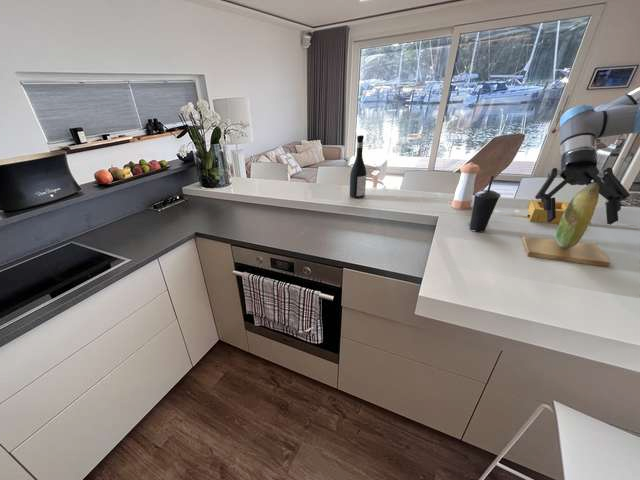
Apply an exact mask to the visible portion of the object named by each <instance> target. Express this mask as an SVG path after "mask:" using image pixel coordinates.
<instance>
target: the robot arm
mask: <svg viewBox="0 0 640 480" xmlns="http://www.w3.org/2000/svg"><path fill="white" fill-rule="evenodd" d="M558 131H559V140H560V141H559V143H560V145H559V146H560V147H559V148H560V150H559V151H560V169H558V168H557V167H553V168H551V170H550V171H548V173H547V178H546V180H545V181H544V182H543V184H542V186H541V188H540V189H539V190H538V192H537V193H536V195H535V196H534V199H535V200H541V202H543V209H544V210H547V222H551V221H552V220H554V219H555V218H556V208H555V201H556V197H553V196H555V195H556V194H557V193H558V192H559V191H560V190H561V189H562V188H564V187H565V186H566V185H567V184H568V185H570V186H587V185H588V184H590V183H598V184H599V196H601V197H603V198H604V199H605V200H607V201H606V202H605V212H606V214H605V215H606V224H607V225H613V224H614V223H617V222H619V212H620V211H621V209H622V205H621V202H622V201H624V200H625V199H627V198H629V197H631V194H630V193H629V192H628V190H627V189H626V187H625V186H624V185H623V184H622V183H621V181H620V180H619V179H618V178H617V176H615V174H614V171H613V168H612V167H607V168H606V169H598V153H597V151H598V148H597V139H600V138H606V137H615V136H623V135H631V134H632V135H633V134H634V135H635V134H637V133H640V86H639V87H637V88H635V89H633V90H631V91H629V92H628V93H626V94H624V95H622V96H620V97H618V98H617V99H615V100H612V101H610V102H609V101H608V102H605V103H603V104H600V105H598V106H597V107H595V108H594V107H593V106H592V105H586V104H580V105H576V106H574V107H571V108H570V109H568V110H566V111H565V112H564V113H562V115H561V116H560V118H559V129H558ZM558 176H560V178H562V179H563V181H561V182H560V183H559V184H558V185H556V186H555V187H554V188H552V190H550V192H548V193H547V191H548V190H549V188H550V186H551V185H552V183H553V182H554V181H555V179H556V178H558Z"/></svg>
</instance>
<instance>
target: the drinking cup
mask: <svg viewBox="0 0 640 480" xmlns="http://www.w3.org/2000/svg"><path fill="white" fill-rule="evenodd" d="M490 176H491V177H490V180H489V183H488V187H487V189H481V190H478V191H475V192H474V193H473V195H474V199H473V205H472V210H471V211H472V212H471V217H470V223H469V230H470V229H471V230H475V231H484V230H485V231H486V228H487V226H488V224H489V221H490V219H491V217H492V215H493V212H494V210H495V208H496V206H497V203H498V201H499V198H501V193H499V192H497V191H495V190H492V189H491V187H492V184H493V180H494V177H495V175H490ZM471 230H470V231H471ZM485 231H484V232H485Z"/></svg>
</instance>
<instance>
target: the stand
mask: <svg viewBox="0 0 640 480" xmlns="http://www.w3.org/2000/svg"><path fill="white" fill-rule="evenodd" d="M541 200H542V199H529V202H528V204H527V207H526V208H527V211H528V213H529V214H527V218H528V220H529V222H532V223H534V222H535V223H543V224H554V225H559V223H560V220H561V218H562V215H563V213H564V212H565V210H566V208H567V207H568V205H569V203H570V202H569V201H558V200H555V208H556V218H555V219H554V220H552V221H551V222H547V210H544V209H543V202H541Z"/></svg>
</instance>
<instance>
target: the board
mask: <svg viewBox="0 0 640 480" xmlns="http://www.w3.org/2000/svg"><path fill="white" fill-rule="evenodd" d="M522 240H523V241H522V243H524V244H523V247H524V250H525V254H526V253H527V254H526V256H527V257H531V256H532V257H531V258H540V259H546V260H554V261H560V262H569V263H575V264H576V263H577V264H582V265H583V264H584V265H591V266H598V267H605V268H608V267H609V266H610V264H611V261H610V260H609V258H608V257H607V256H606V255H605V253H604V252H603V250H602V249H601V248H600V247H599V245H598V244H596V243H587V242H580V241H579V242H578V243H577V244H576V245H575V246H573V247H571V248H564V247H561V246H560V245H558V243H557V241H556V239H549V238H543V237H533V236H523V237H522Z"/></svg>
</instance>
